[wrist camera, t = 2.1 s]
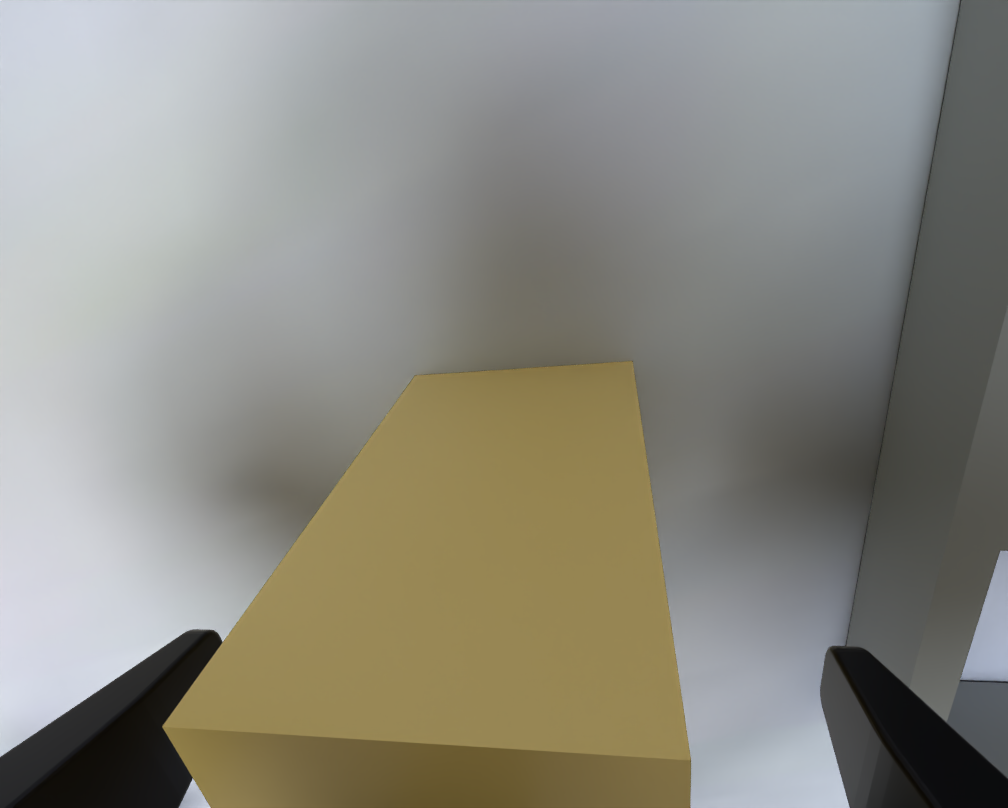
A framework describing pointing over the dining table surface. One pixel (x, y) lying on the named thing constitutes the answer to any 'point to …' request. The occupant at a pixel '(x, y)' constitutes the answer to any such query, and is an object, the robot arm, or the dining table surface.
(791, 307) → the dining table surface
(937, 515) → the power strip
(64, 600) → the dining table surface
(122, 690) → the robot arm
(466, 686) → the plug
